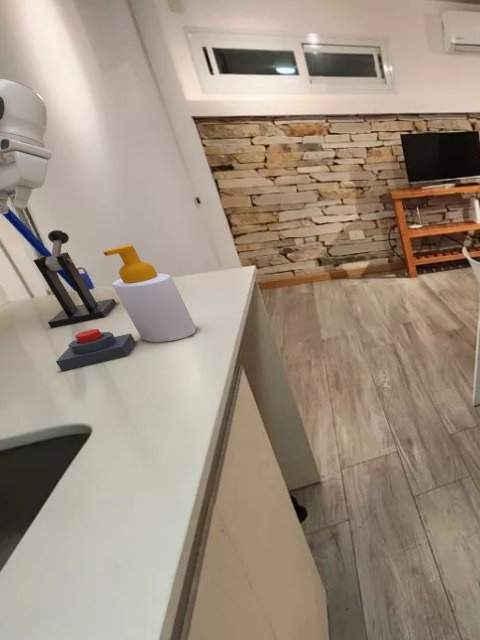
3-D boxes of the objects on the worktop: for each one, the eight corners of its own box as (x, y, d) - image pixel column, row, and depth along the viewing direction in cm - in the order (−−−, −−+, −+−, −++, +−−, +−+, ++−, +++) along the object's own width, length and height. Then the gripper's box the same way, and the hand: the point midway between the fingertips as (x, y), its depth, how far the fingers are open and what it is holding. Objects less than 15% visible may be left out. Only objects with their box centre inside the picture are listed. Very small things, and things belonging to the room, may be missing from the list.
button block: (61, 371, 94) (50, 353, 92) (75, 356, 100) (64, 339, 98) (127, 355, 98) (117, 338, 96) (135, 342, 104) (126, 325, 103)
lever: (54, 240, 124) (44, 228, 121) (72, 237, 125) (63, 226, 123) (49, 273, 116) (39, 262, 114) (69, 270, 118) (59, 259, 115)
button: (77, 346, 95) (72, 338, 94) (82, 339, 98) (78, 332, 97) (100, 341, 97) (96, 333, 96) (105, 334, 100) (101, 327, 99)
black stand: (67, 313, 125) (32, 255, 118) (116, 303, 130) (85, 247, 123) (50, 328, 116) (11, 266, 109) (104, 317, 120) (69, 257, 113)
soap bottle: (129, 340, 106) (80, 251, 97) (168, 324, 113) (125, 241, 104) (170, 344, 102) (122, 253, 93) (208, 328, 109) (167, 241, 100)
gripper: (-26, 155, 112) (-31, 212, 111) (14, 138, 104) (9, 199, 103) (14, 165, 118) (10, 220, 117) (55, 150, 110) (51, 208, 109)
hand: (10, 210), depth 110 cm, fingers open, 8 cm apart
